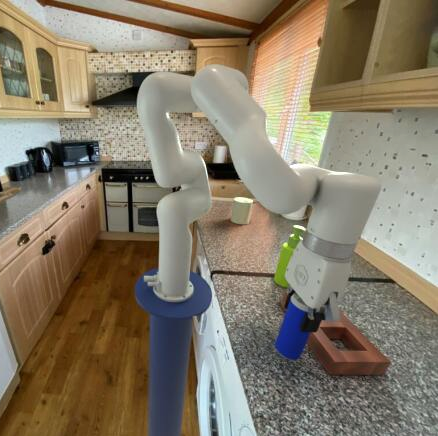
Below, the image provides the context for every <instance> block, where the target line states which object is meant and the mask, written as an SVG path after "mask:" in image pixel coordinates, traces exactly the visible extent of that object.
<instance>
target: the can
mask: <svg viewBox="0 0 438 436" xmlns="http://www.w3.org/2000/svg"><path fill="white" fill-rule="evenodd" d="M253 202H254V200H253V199H252V198H249V197H245V196H244V197H243V196H238V197H237V196H236V197H234V198H233V203H232V209H231V214H230V221H231V222H232V223H234V224H237V225H248V224H249V223H250V218H251V212H252V207H253Z"/></svg>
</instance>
